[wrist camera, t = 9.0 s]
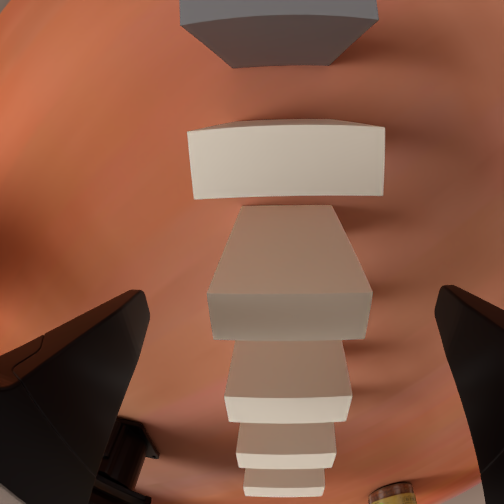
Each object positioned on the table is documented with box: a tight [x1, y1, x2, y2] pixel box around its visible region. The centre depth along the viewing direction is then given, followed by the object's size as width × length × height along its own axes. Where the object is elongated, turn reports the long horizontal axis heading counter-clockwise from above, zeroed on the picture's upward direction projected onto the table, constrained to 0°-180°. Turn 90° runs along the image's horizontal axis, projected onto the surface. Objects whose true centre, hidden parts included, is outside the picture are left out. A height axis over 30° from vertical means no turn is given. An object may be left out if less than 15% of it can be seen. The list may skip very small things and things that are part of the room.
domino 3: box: [224, 340, 353, 424], centre depth 14 cm, size 2×4×8 cm, turn 93°
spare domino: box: [207, 205, 373, 341], centre depth 12 cm, size 2×4×8 cm, turn 92°
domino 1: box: [243, 468, 325, 497], centre depth 17 cm, size 2×4×8 cm, turn 93°
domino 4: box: [187, 119, 385, 199], centre depth 10 cm, size 2×4×8 cm, turn 93°
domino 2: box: [236, 422, 337, 469], centre depth 16 cm, size 2×4×8 cm, turn 93°
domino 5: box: [180, 0, 379, 68], centre depth 9 cm, size 2×4×8 cm, turn 93°
